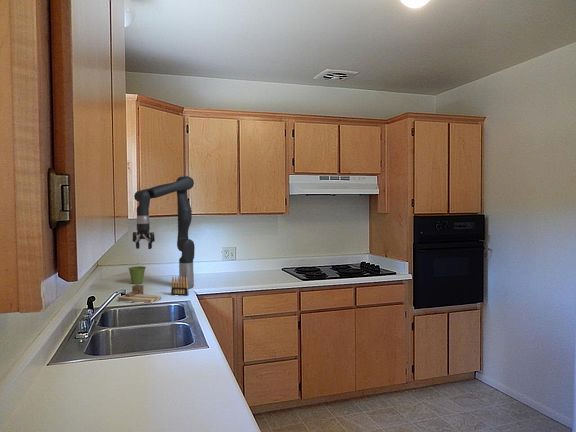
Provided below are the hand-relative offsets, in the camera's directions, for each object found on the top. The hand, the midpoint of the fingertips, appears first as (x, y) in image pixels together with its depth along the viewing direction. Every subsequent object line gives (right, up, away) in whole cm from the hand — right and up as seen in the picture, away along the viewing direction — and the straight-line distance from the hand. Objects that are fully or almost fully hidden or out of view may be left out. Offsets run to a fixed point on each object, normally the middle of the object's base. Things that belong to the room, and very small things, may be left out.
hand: (143, 248), depth 247 cm
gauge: (-4, -30, -7) cm, 31 cm away
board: (+2, -30, -11) cm, 32 cm away
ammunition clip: (+22, -29, +2) cm, 37 cm away
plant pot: (-18, -28, +37) cm, 49 cm away
